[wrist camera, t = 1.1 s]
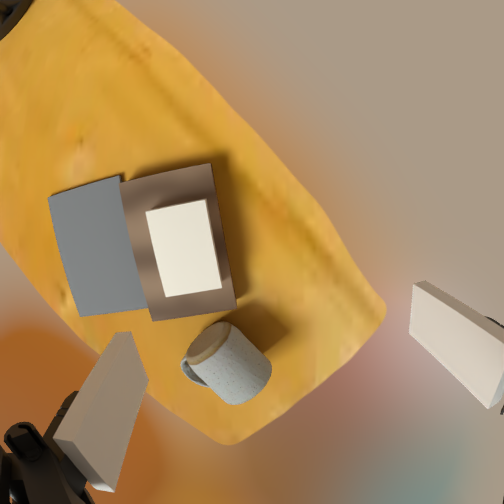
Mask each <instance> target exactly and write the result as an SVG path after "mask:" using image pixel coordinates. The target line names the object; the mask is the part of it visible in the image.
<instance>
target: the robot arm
mask: <svg viewBox="0 0 504 504" xmlns="http://www.w3.org/2000/svg"><path fill="white" fill-rule="evenodd" d="M31 1H32V0H0V40H1V39H2V38H3V37H4V36H5V35H6V34H7V33H8V32H9V31H10V30H11V29H12V28H13V27H14V26H15V25H16V23H17V22H18V21H19V20H20V18H21V17H22V16H23V14H24V13H25V11H26V10H27V8H28V7H29V5H30V3H31ZM409 334H410V335H411V336H412V337H414V338H415V339H416V340H417V341H418V342H419V343H420V344H421V345H422V346H423V347H424V348H425V349H426V350H428V351H429V352H430V353H431V354H432V355H433V356H434V357H435V358H436V359H437V360H438V361H439V362H440V363H441V364H442V365H443V366H444V367H445V368H447V369H448V370H449V371H450V372H451V373H452V374H453V375H454V376H455V377H456V378H457V379H458V380H459V381H460V382H461V383H462V384H463V385H464V386H465V387H466V388H467V389H468V390H469V391H470V392H471V393H472V394H473V395H474V396H475V397H476V398H477V399H478V400H479V401H480V402H481V403H482V404H483V405H484V406H485V407H486V408H487V409H489V408H491V407H492V406H494V405H495V404H496V403H498V402H499V401H500V400H501V397H502V395H503V393H504V326H503V325H500V324H499V323H498V322H497V321H495V320H493V319H492V318H489V317H486V316H483V315H481V314H480V313H478V312H477V311H475V310H473V309H472V308H470V307H469V306H467V305H465V304H464V303H462V302H460V301H459V300H457V299H455V298H454V297H452V296H450V295H449V294H447V293H445V292H444V291H442V290H440V289H439V288H437V287H435V286H433V285H432V284H430V283H428V282H426V281H422V282H418V283H414V284H413V293H412V306H411V317H410V327H409ZM148 381H149V380H148V377H147V375H146V372H145V369H144V367H143V364H142V362H141V359H140V356H139V353H138V351H137V348H136V345H135V342H134V339H133V336H132V333H131V331H130V332H118V333H115V335H114V336H113V338H112V340H111V341H110V343H109V344H108V346H107V347H106V349H105V350H104V352H103V353H102V355H101V357H100V358H99V360H98V361H97V363H96V365H95V366H94V368H93V369H92V371H91V373H90V374H89V376H88V378H87V379H86V381H85V382H84V384H83V386H82V387H81V389H80V391H74V392H73V393H72V394H70V395H69V396H68V397H67V398H66V399H65V400H64V402H63V404H62V405H61V407H60V409H59V410H58V412H57V414H56V416H55V417H54V419H53V420H52V422H51V424H50V426H49V427H48V429H47V431H46V432H45V434H44V436H43V438H42V436H41V435H40V434H39V432H38V431H37V430H36V428H35V427H34V425H33V424H31V423H29V422H19V423H17V424H15V425H13V426H11V427H10V428H9V429H8V430H7V432H6V433H5V435H4V442H5V443H6V445H7V446H8V447H9V448H10V450H11V451H12V452H13V453H6V452H5V450H4V449H3V448H2V447H1V445H0V504H11V503H10V498H9V497H10V496H11V497H12V501H13V502H12V504H95V503H94V501H93V499H92V497H91V496H90V494H89V492H88V491H87V490H86V488H85V484H86V482H87V481H88V482H89V483H90V484H91V485H92V486H93V487H94V488H95V489H98V490H104V491H110V492H115V488H116V484H117V481H118V477H119V474H120V470H121V467H122V463H123V460H124V456H125V453H126V449H127V446H128V442H129V439H130V436H131V433H132V430H133V426H134V423H135V420H136V417H137V414H138V411H139V408H140V405H141V401H142V399H143V396H144V393H145V390H146V387H147V384H148ZM503 412H504V406H503V408H502V410H501V413H500V414H503ZM503 504H504V499H503Z"/></svg>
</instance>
